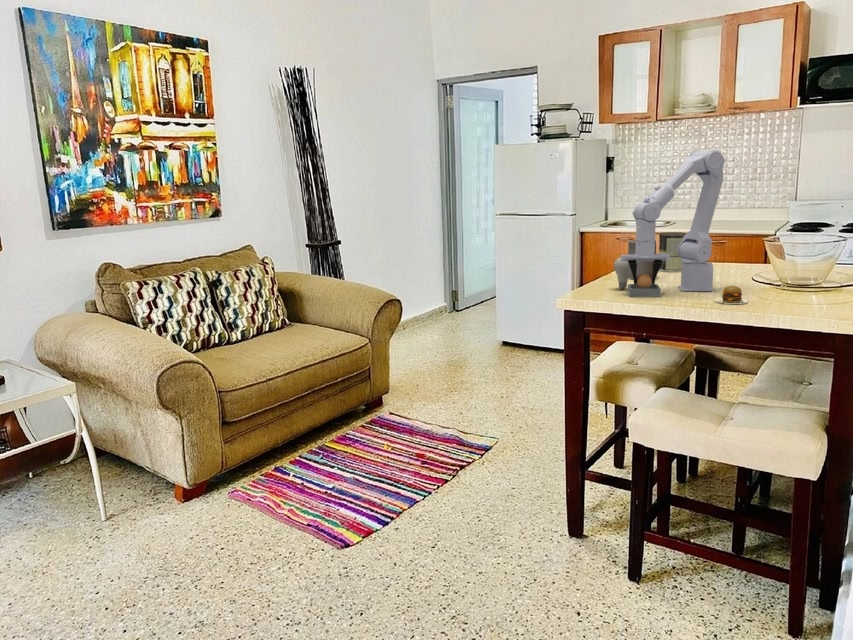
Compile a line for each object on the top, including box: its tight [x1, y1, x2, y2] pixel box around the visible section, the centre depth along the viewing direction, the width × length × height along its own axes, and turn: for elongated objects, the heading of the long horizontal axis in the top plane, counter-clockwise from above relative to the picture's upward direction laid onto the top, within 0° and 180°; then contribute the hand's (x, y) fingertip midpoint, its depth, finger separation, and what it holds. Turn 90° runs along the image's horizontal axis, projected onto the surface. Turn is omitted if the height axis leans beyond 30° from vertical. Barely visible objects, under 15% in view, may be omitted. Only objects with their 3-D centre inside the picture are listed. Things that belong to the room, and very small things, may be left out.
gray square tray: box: [627, 283, 662, 298], centre depth 211 cm, size 9×9×2 cm
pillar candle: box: [627, 239, 657, 280], centre depth 239 cm, size 10×10×15 cm
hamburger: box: [714, 285, 749, 305], centre depth 195 cm, size 12×12×6 cm
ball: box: [637, 273, 652, 289], centre depth 211 cm, size 5×5×5 cm
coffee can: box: [658, 231, 688, 273], centre depth 254 cm, size 10×10×14 cm
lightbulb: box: [613, 256, 631, 290], centre depth 220 cm, size 6×6×11 cm
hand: (644, 283), depth 211 cm, fingers closed on ball, 5 cm apart
